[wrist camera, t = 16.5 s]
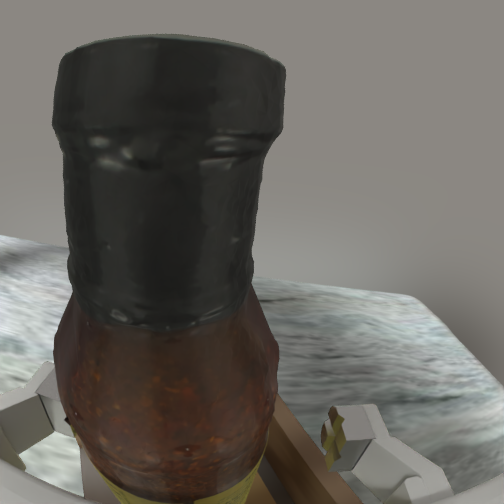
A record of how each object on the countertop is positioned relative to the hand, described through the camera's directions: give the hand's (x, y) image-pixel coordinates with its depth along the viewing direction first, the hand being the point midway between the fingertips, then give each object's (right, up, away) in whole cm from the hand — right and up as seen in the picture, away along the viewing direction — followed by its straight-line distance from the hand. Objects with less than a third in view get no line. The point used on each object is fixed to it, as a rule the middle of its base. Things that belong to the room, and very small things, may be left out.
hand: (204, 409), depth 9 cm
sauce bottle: (-3, -10, +4) cm, 11 cm away
